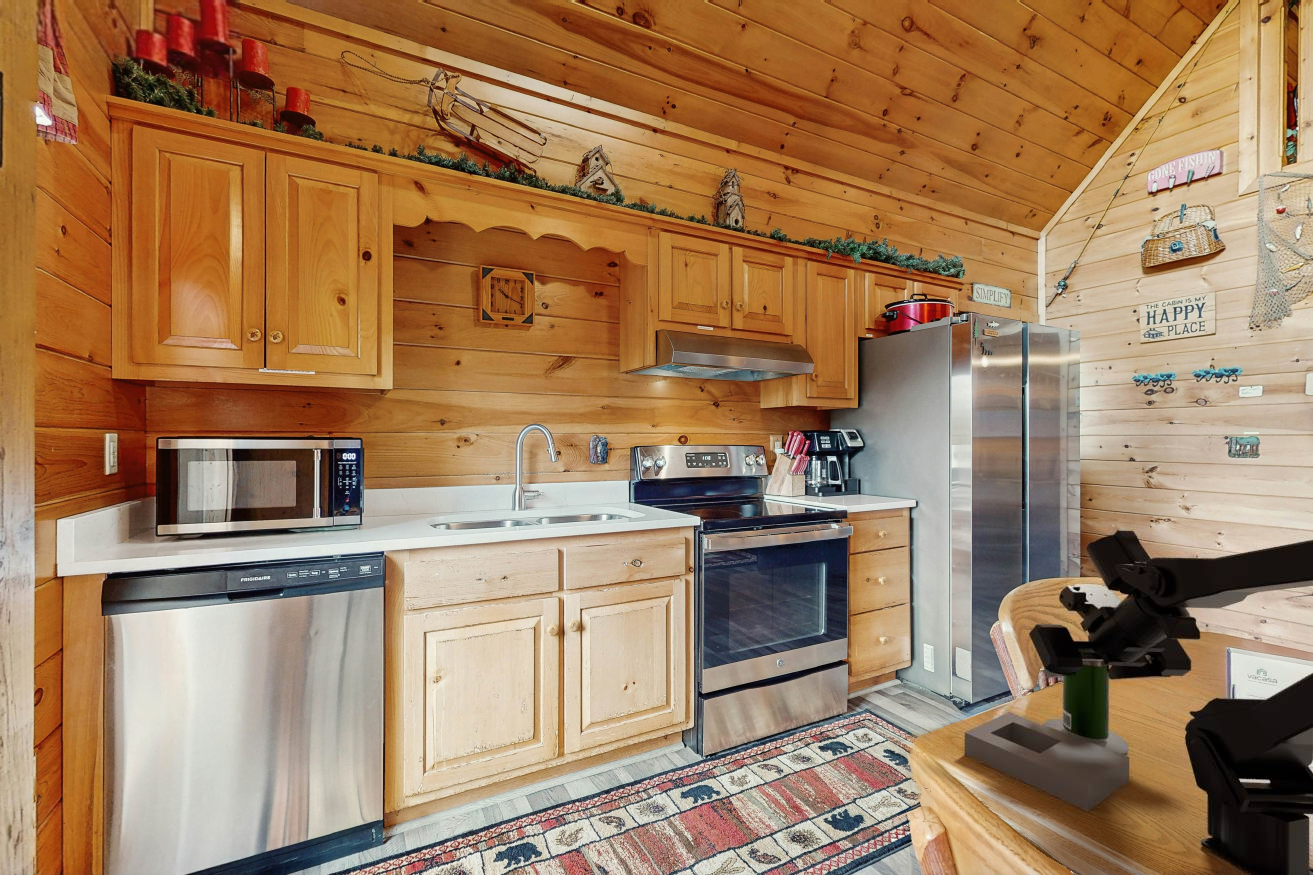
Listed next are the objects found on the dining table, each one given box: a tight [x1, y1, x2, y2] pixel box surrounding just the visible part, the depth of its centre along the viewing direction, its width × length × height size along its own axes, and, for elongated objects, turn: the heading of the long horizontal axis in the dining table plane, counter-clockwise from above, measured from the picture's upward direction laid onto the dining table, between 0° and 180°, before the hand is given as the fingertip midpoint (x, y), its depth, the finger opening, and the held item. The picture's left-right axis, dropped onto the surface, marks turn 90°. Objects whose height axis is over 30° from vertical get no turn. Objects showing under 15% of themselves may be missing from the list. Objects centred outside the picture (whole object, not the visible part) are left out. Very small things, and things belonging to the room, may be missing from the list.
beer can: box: [1062, 660, 1110, 744], centre depth 84 cm, size 5×5×12 cm
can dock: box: [964, 711, 1130, 812], centre depth 76 cm, size 14×12×3 cm
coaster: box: [1042, 718, 1130, 756], centre depth 84 cm, size 10×10×1 cm
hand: (1077, 675), depth 86 cm, fingers open, 9 cm apart
